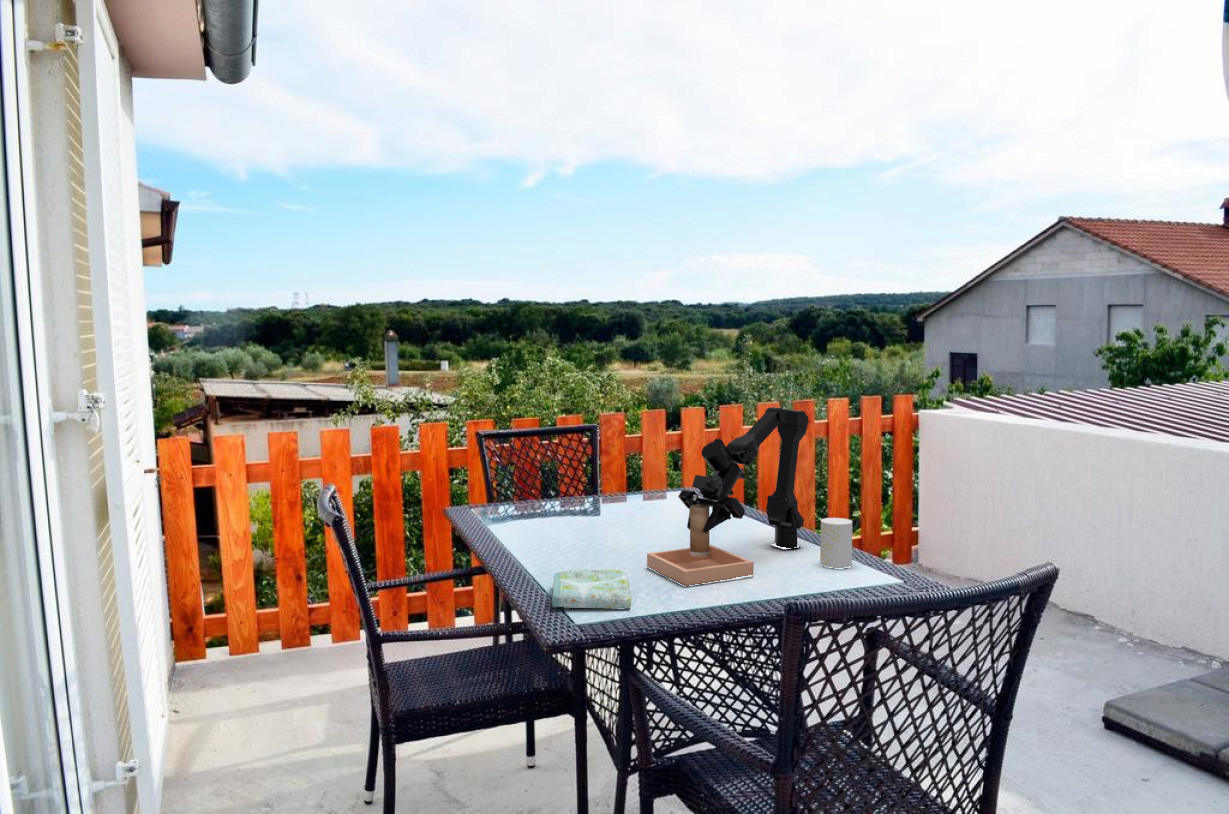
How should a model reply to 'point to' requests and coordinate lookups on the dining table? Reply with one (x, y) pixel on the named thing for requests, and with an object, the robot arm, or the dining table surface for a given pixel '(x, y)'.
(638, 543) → the dining table surface
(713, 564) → the bin
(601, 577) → the towel
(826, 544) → the light grey cylinder
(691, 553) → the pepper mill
